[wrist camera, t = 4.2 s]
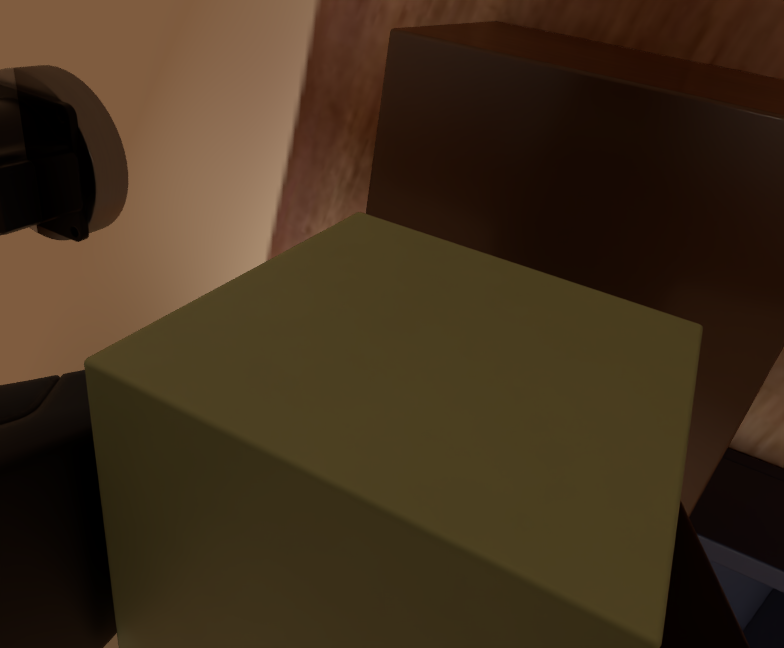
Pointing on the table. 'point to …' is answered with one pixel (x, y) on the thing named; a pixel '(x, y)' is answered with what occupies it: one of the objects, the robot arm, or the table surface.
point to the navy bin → (746, 542)
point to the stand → (601, 186)
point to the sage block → (394, 455)
